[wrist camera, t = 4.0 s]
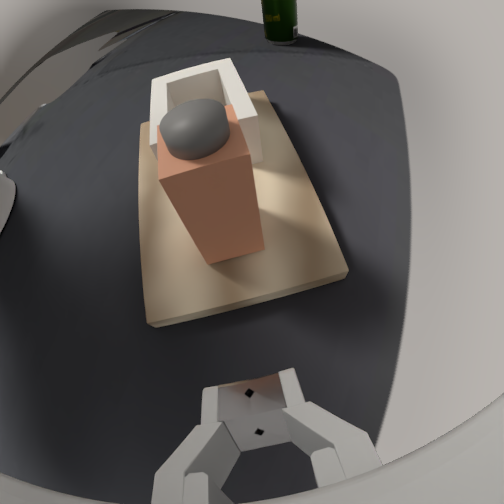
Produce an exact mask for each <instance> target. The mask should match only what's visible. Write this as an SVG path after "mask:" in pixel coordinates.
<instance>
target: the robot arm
mask: <svg viewBox="0 0 504 504" xmlns="http://www.w3.org/2000/svg"><path fill="white" fill-rule="evenodd" d="M14 198H15V183H14V182H13V181H12V180H11V179H9V178H7V177H6V174H5V173H4V172H3V171H2V170H0V233H1V231H2V229H3V227H4V225H5V223H6V221H7V218H8V216H9V214H10V211H11V208H12V205H13V202H14ZM279 377H280V378H279ZM290 441H292V442H293V443H294V444H295V445H296V446H297V447H299V448H300V449H301V450H302V451H303V452H305V453H306V454H307V455H308V456H310V457H311V462H312V466H313V471H314V476H315V480H316V485H317V488H316V489H313V490H309V491H305V492H301V493H297V494H292V495H288V496H283V497H278V498H273V499H267V500H261V501H255V502H248V503H240V504H504V393H503V394H502V395H501V396H499V397H498V398H497V399H496V400H494V401H493V402H492V403H490V404H489V405H488V406H486V407H485V408H484V409H482V410H481V411H479V412H478V413H477V414H475V415H474V416H472V417H471V418H469V419H468V420H466V421H465V422H464V423H462V424H460V425H459V426H457V427H456V428H454V429H453V430H451V431H449V432H448V433H446V434H444V435H443V436H441V437H439V438H437V439H436V440H434V441H432V442H430V443H428V444H427V445H425V446H423V447H421V448H419V449H417V450H415V451H413V452H411V453H409V454H407V455H405V456H403V457H401V458H399V459H396V460H394V461H392V462H390V463H388V464H385V465H382V462H381V461H380V458H379V456H378V454H377V452H376V450H375V448H374V446H373V444H372V442H371V440H370V437H369V435H368V433H367V432H365V431H363V430H361V429H359V428H357V427H355V426H353V425H351V424H350V423H348V422H346V421H344V420H342V419H340V418H339V417H337V416H335V415H333V414H331V413H330V412H328V411H326V410H324V409H323V408H321V407H319V406H318V405H316V404H314V403H312V402H311V401H309V402H305V399H304V396H303V393H302V390H301V387H300V384H299V381H298V378H297V375H296V372H295V369H294V368H290V369H287V370H283V371H279V374H278V372H276V373H273V374H269V375H265V376H261V377H257V378H253V379H249V380H244V381H239V382H234V383H228V384H223V385H219V386H213V387H206V388H204V389H203V392H202V409H201V425H196V426H195V428H194V429H193V430H192V431H191V432H190V434H189V435H188V436H187V437H186V438H185V440H184V441H183V442H182V443H181V444H180V445H179V447H178V448H177V449H176V450H175V451H174V452H173V454H172V455H171V456H170V457H169V458H168V459H167V460H166V462H165V463H164V464H163V465H162V466H161V467H160V468H159V469H158V471H157V472H156V473H155V478H154V486H153V493H152V501H151V504H234V503H233V502H232V501H231V500H230V499H229V498H228V497H227V496H226V495H225V494H224V492H223V491H222V490H221V488H222V486H223V484H224V482H225V481H226V479H227V477H228V475H229V474H230V472H231V470H232V468H233V466H234V465H235V463H236V461H237V459H238V457H239V455H240V454H241V453H240V452H242V451H247V450H252V449H257V448H261V447H265V446H271V445H276V444H281V443H285V442H290ZM0 504H118V503H111V502H104V501H98V500H92V499H87V498H82V497H77V496H73V495H68V494H64V493H60V492H56V491H53V490H49V489H46V488H42V487H39V486H36V485H33V484H30V483H27V482H24V481H21V480H18V479H16V478H13V477H10V476H8V475H5V474H3V473H1V472H0Z"/></svg>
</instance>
